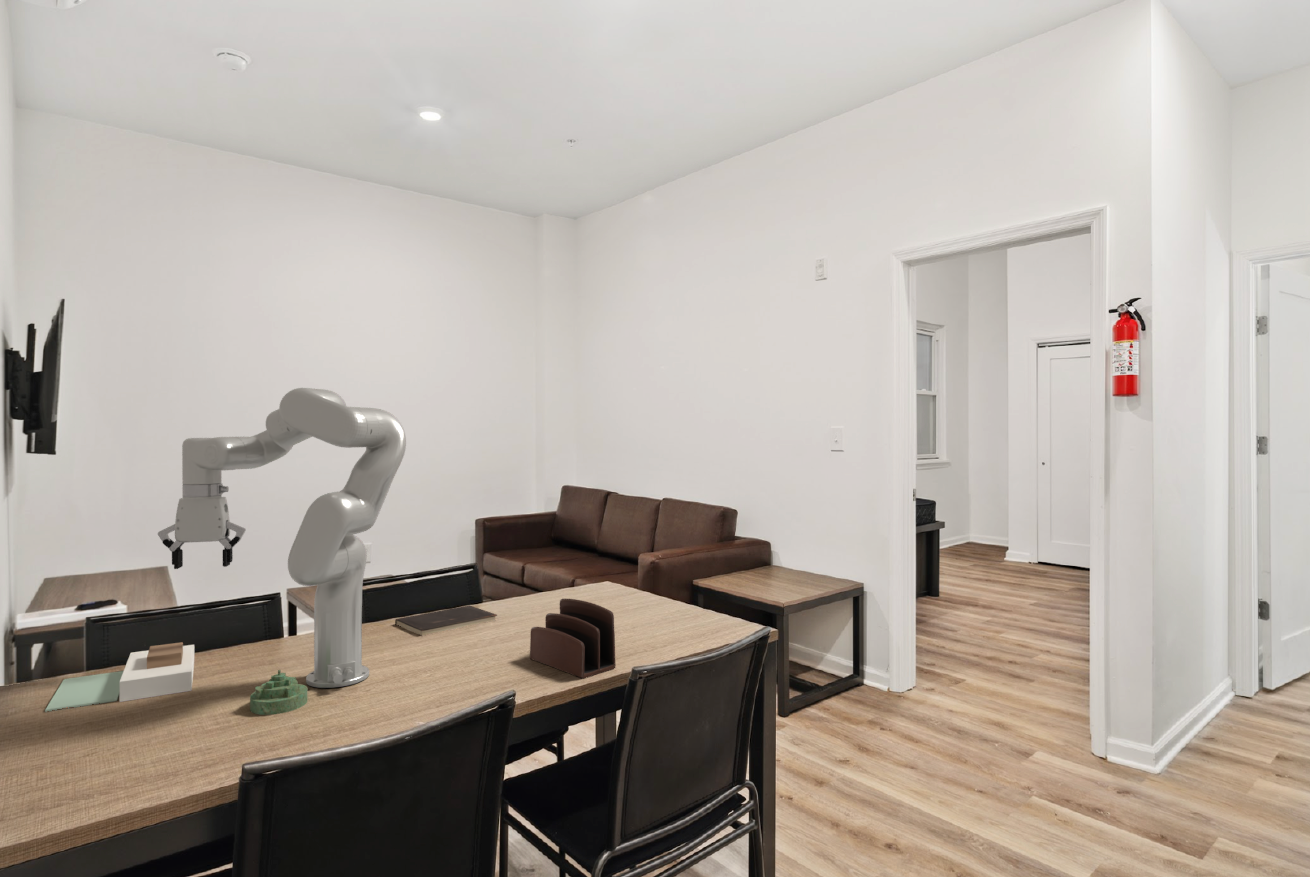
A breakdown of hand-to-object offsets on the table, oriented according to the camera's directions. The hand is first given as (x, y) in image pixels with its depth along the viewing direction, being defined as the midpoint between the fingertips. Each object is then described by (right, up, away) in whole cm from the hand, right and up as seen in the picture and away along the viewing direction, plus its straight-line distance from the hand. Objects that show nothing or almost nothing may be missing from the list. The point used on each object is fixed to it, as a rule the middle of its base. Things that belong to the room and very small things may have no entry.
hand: (202, 566), depth 161 cm
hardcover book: (+44, -24, +39) cm, 64 cm away
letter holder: (+84, -24, +4) cm, 87 cm away
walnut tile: (-3, -18, -8) cm, 20 cm away
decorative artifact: (+29, -24, -22) cm, 43 cm away
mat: (-14, -23, -14) cm, 31 cm away
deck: (-4, -23, -8) cm, 25 cm away
